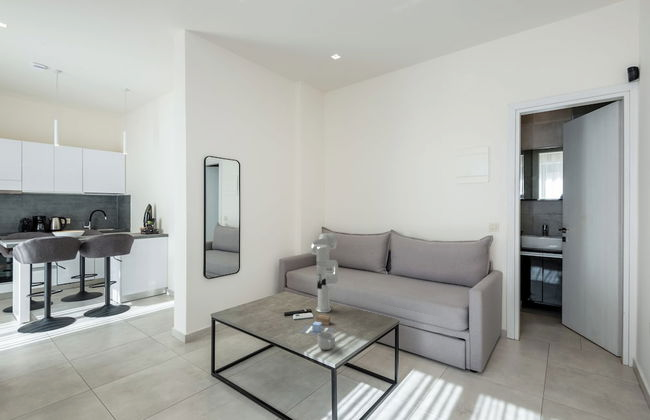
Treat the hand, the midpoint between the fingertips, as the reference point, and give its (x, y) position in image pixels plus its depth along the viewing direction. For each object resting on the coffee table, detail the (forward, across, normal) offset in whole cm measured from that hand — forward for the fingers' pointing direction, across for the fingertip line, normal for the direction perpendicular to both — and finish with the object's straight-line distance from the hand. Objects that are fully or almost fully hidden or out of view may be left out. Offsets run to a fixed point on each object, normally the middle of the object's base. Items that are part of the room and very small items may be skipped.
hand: (321, 286), depth 224 cm
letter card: (+28, +10, 0) cm, 30 cm away
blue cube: (+28, +10, 0) cm, 30 cm away
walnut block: (+28, -4, 0) cm, 29 cm away
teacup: (+28, +33, +14) cm, 46 cm away
